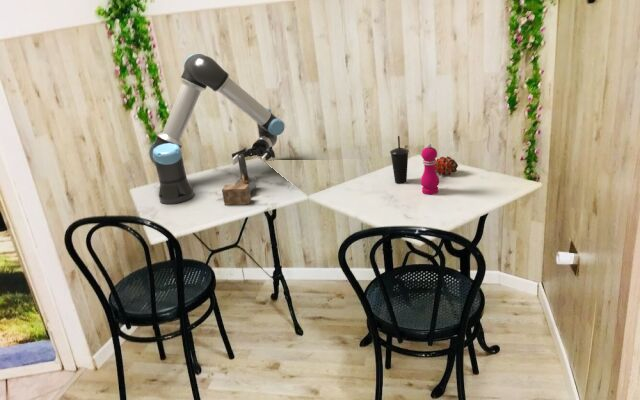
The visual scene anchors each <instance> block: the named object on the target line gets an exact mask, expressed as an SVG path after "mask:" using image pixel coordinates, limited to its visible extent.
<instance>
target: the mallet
mask: <svg viewBox="0 0 640 400" xmlns="http://www.w3.org/2000/svg"><path fill="white" fill-rule="evenodd" d="M238 168H239V173H240V178H241V180H240V181H239V182H238V183H237V184H236V185H246V184H248V183H249V181H250V180H251V179H252V178H251V177H249V175H248V168H247V161H246V157H245V155H244V154H240V155H238Z"/></svg>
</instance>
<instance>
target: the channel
mask: <svg viewBox="0 0 640 400" xmlns="http://www.w3.org/2000/svg"><path fill="white" fill-rule="evenodd" d="M240 180H241V177H240V178H239V179H238V180H237V181H236V182H235V183H234V185H236V184H237V183H238V182H239V181H240ZM256 182H257V181H256V177H253V176H252V178H251V180H250V181H249V183H248V185H249V190H250V196H251V197H252V195H253V193H254V192H255V191H256V189H257V183H256Z"/></svg>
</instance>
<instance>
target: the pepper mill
mask: <svg viewBox="0 0 640 400" xmlns="http://www.w3.org/2000/svg"><path fill="white" fill-rule="evenodd" d="M420 155H421V157H422V165H423V167H424V169H423V173H422V176H421V178H420V185H421V186H422V188H421V189H422V191H421V192H422V194H423V195H427V196H431V195H436V194H438V193H439V187H438V186H439V184H440V178H439V176H438V173H436V171H435V163H436V160H437V156H438V151H437V149H436V148H434V147H432V144H431V143H427V144H426V147H425V148H423V149H422V151H421V154H420Z"/></svg>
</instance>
